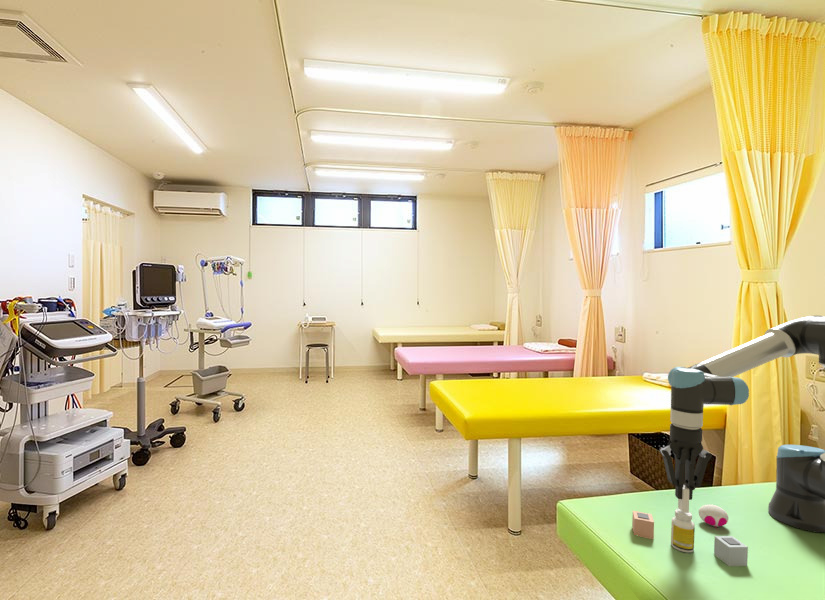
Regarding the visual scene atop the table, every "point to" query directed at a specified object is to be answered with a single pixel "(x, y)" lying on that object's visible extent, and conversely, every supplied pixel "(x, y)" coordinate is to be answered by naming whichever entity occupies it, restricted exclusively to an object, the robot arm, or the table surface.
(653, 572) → the table surface
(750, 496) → the table surface
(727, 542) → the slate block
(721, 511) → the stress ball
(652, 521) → the terracotta block
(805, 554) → the table surface
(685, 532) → the supplement bottle
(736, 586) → the table surface
